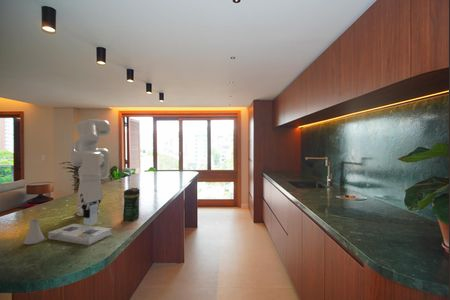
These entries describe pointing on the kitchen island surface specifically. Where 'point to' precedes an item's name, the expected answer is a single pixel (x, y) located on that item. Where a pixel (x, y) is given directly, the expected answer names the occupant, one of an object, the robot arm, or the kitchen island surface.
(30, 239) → the flask
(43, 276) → the kitchen island surface
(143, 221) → the kitchen island surface
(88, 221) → the plug
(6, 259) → the kitchen island surface
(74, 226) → the panel
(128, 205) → the coffee jar
